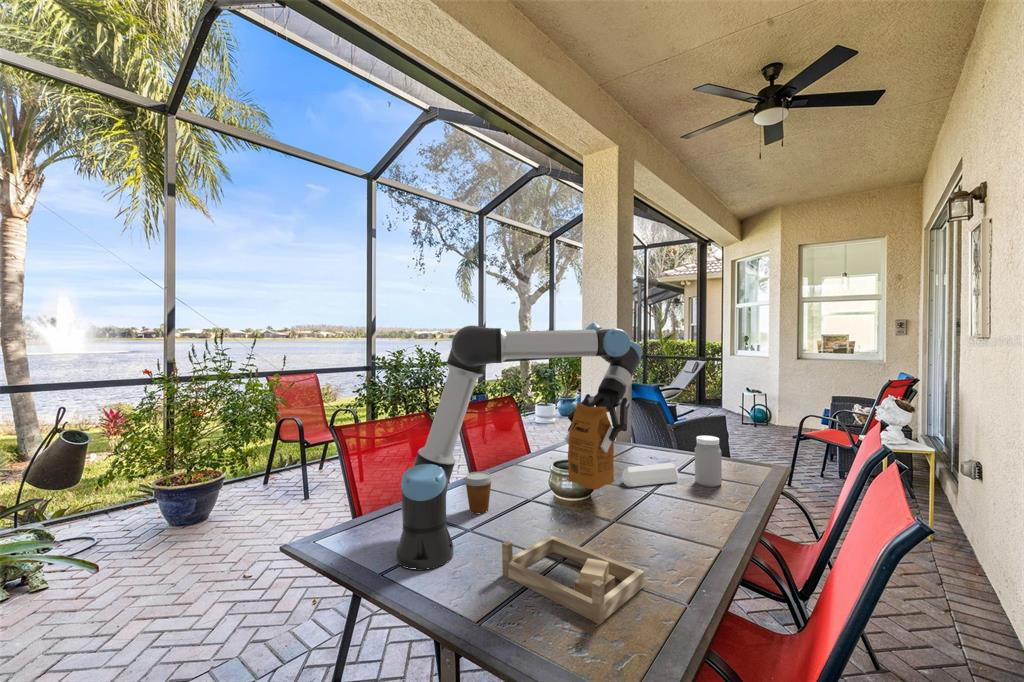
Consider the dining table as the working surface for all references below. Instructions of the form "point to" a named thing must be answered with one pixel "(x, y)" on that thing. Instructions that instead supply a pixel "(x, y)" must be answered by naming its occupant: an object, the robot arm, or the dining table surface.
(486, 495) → the disposable coffee cup
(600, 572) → the offcut upper
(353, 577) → the dining table surface
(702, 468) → the jar
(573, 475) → the coffee package
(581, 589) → the offcut lower
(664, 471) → the white triangular prism
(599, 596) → the rack
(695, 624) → the dining table surface
